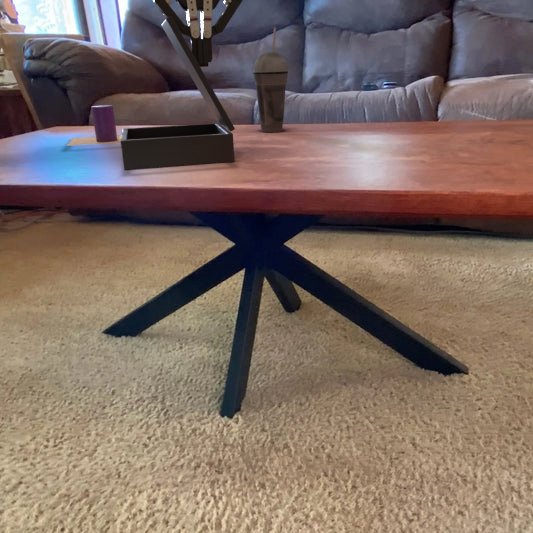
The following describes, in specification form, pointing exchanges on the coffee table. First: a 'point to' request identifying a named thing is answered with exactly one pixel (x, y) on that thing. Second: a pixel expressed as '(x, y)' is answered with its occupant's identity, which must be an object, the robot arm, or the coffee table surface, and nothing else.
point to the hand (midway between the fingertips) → (202, 66)
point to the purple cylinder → (104, 123)
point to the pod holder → (176, 146)
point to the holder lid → (196, 73)
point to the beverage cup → (271, 89)
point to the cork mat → (90, 141)
